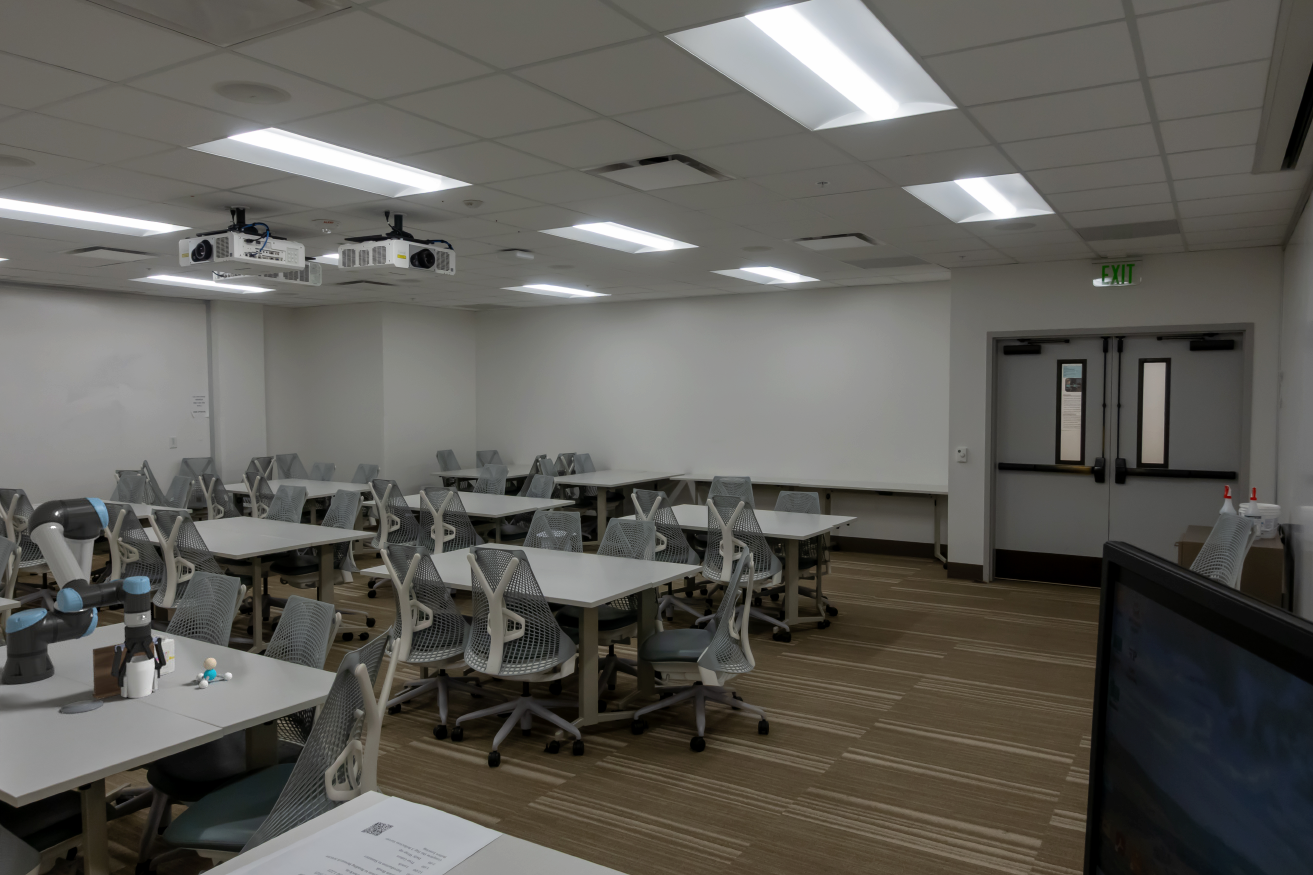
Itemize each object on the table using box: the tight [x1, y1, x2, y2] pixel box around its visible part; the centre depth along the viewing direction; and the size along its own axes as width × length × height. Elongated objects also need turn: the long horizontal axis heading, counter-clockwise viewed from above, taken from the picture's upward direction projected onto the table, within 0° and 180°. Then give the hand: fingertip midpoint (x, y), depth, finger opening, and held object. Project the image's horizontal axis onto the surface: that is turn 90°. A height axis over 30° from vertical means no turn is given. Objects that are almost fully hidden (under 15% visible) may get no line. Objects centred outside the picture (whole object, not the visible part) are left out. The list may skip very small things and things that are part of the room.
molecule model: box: [195, 657, 233, 689], centre depth 297 cm, size 12×12×9 cm
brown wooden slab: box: [92, 641, 154, 700], centre depth 287 cm, size 4×18×16 cm, turn 143°
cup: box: [124, 655, 155, 699], centre depth 283 cm, size 9×9×12 cm
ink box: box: [151, 633, 176, 677], centre depth 307 cm, size 9×8×13 cm
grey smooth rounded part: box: [60, 699, 104, 715], centre depth 272 cm, size 11×11×1 cm
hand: (139, 692), depth 283 cm, fingers closed on cup, 9 cm apart
